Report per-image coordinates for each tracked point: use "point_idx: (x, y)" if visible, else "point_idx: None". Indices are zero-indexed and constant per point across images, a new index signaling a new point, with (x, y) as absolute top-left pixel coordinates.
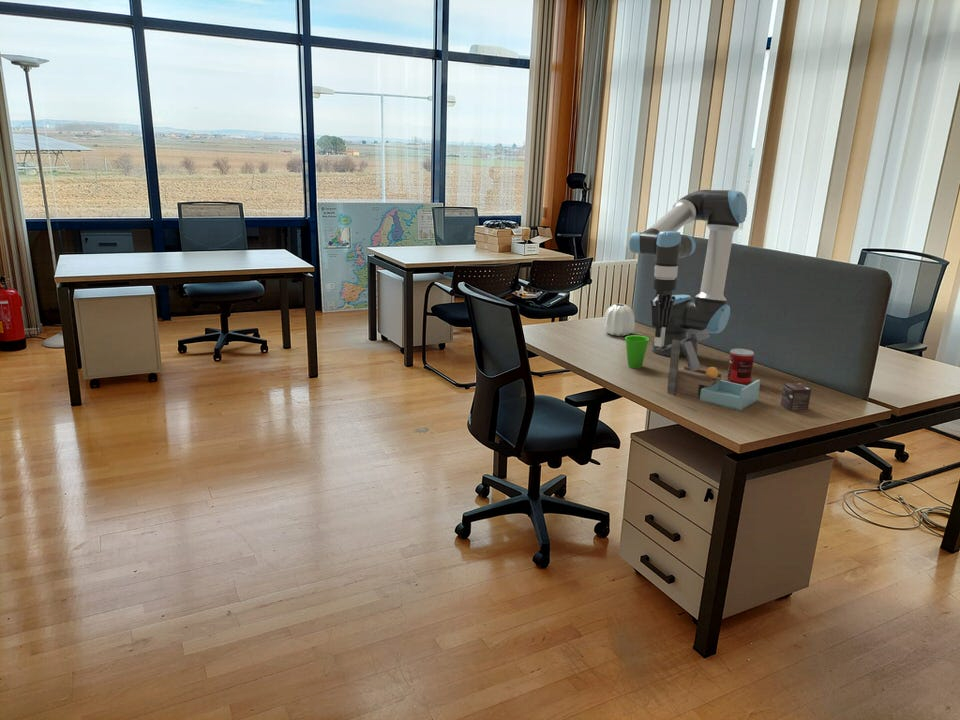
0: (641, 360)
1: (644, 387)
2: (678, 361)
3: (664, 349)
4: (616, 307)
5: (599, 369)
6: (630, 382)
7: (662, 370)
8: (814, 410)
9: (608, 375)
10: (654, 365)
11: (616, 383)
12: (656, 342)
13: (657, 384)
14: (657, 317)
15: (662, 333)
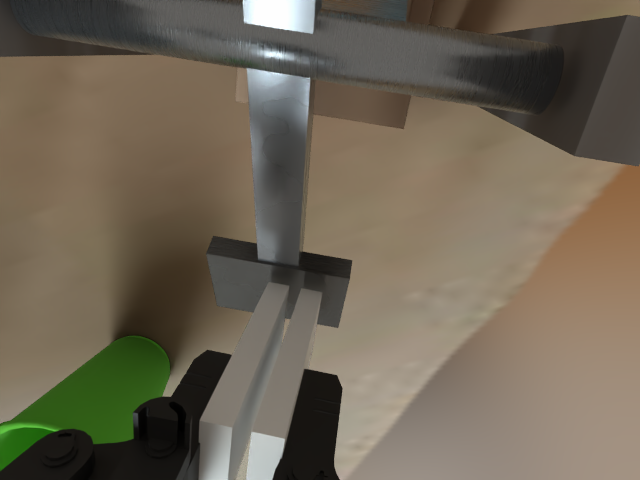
0: (130, 357)
1: (428, 227)
2: (510, 33)
3: (303, 253)
4: None
5: None
6: (387, 307)
7: (104, 240)
8: None
9: (343, 410)
10: (62, 295)
11: (438, 352)
12: (310, 355)
13: (340, 187)
14: None
15: (293, 382)
